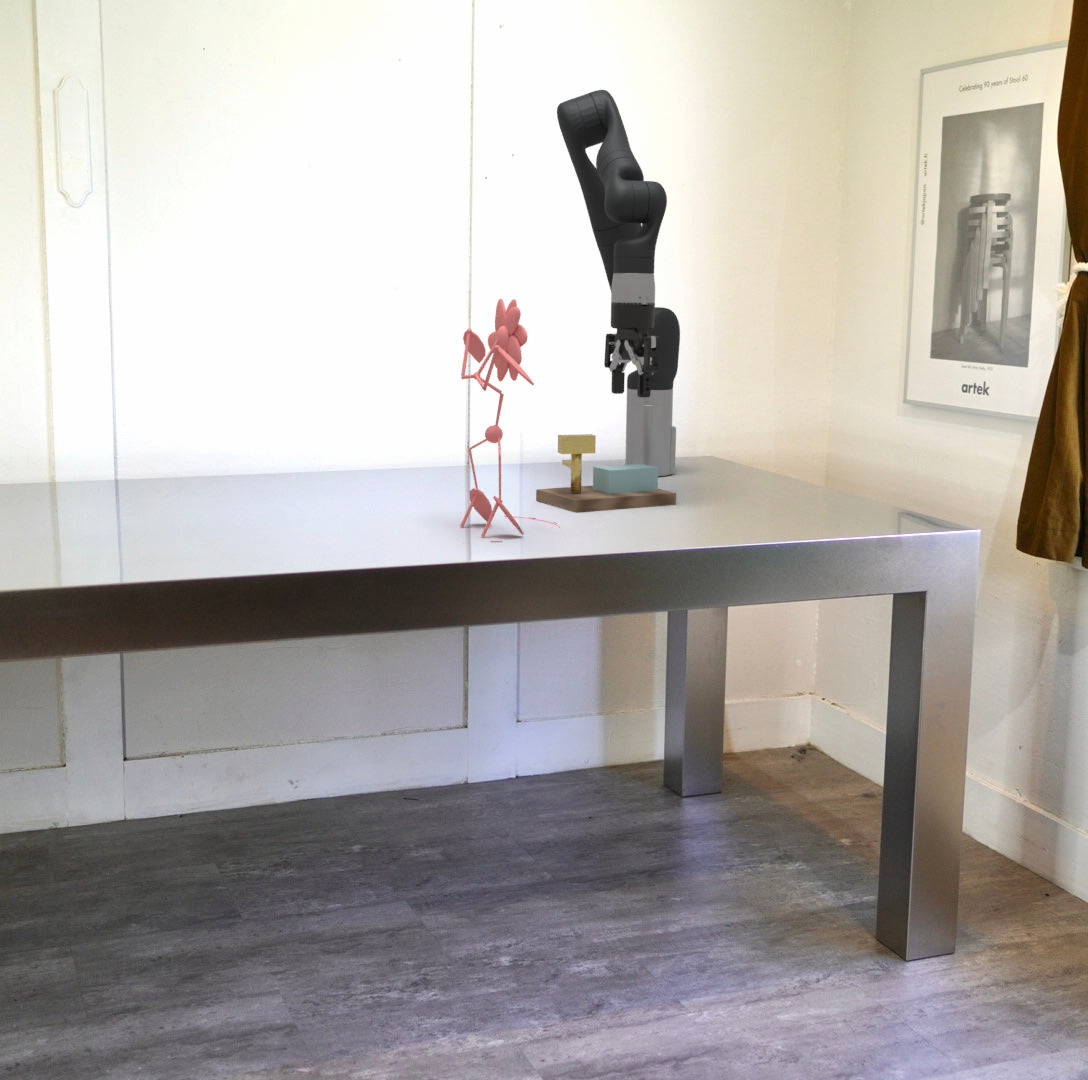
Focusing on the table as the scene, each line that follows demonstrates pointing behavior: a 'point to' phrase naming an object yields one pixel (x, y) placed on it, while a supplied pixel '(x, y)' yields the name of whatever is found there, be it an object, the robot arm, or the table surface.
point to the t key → (576, 455)
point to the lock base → (603, 499)
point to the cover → (625, 478)
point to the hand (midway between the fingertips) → (630, 395)
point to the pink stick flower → (505, 357)
